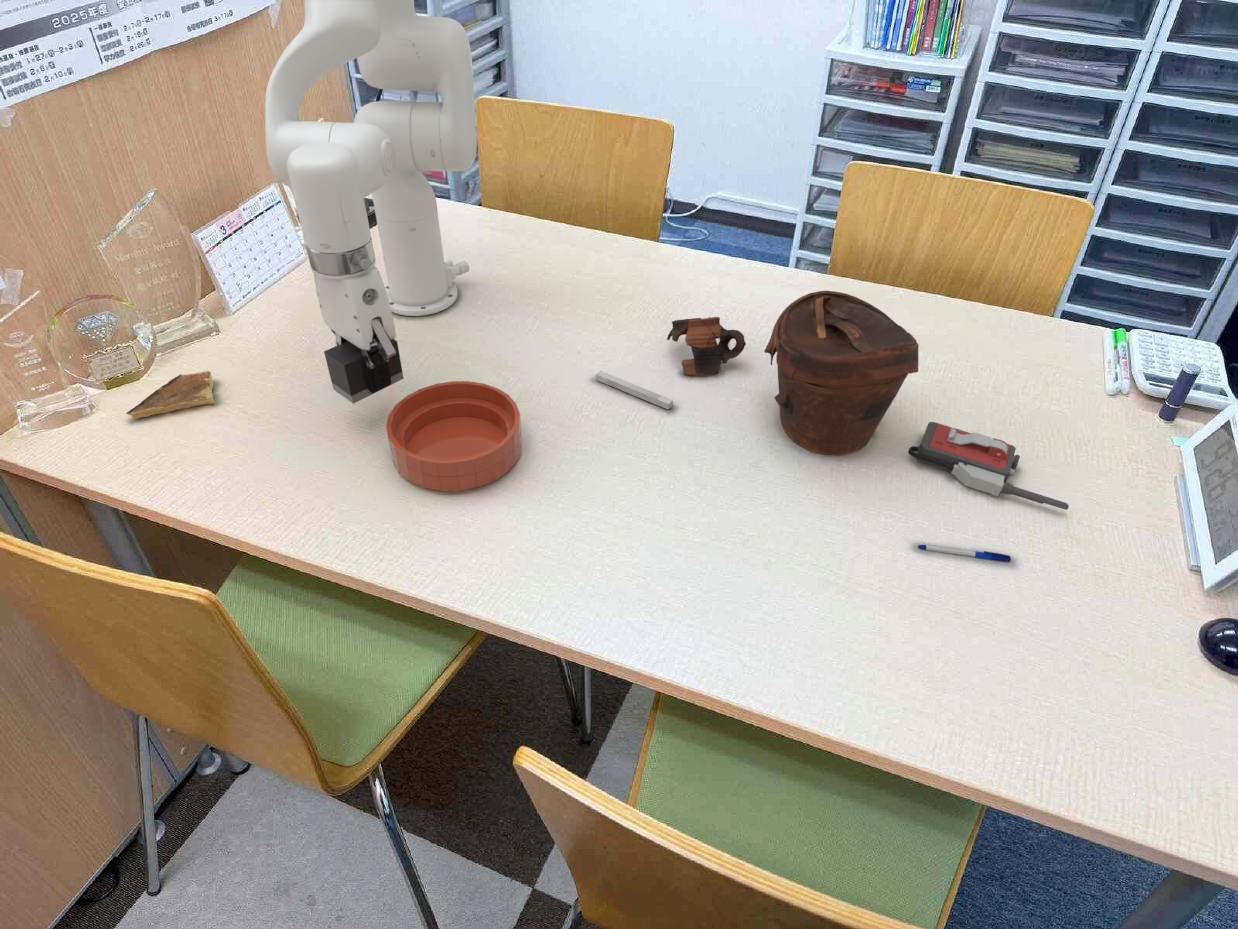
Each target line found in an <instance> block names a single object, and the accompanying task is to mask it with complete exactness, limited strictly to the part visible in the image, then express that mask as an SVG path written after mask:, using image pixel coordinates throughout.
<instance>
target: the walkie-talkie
mask: <svg viewBox="0 0 1238 929" xmlns="http://www.w3.org/2000/svg"><path fill="white" fill-rule="evenodd" d="M1016 449H1017V447H1015V445H1012V444H1010V443H1007V442H1006V441H1004V440H1002V439H999V438H996V437H993V438H992V437H991V436H988V435H986V434H982V433H979V432H968V431H965V430H962V429H959V428H956V427H952V426H949V425H945V424H942V423H938V422H936V421H928V423H927V425H926V428H925V431H924V434H923V436H922V439H921V441H920V444H919V446H915V445H912V446H910V447H909V448H908V450H907V453H908V455H909V456H910V457H912V458H915V459H916V460H917V462H919V463H920V464H922V465H926V466H930V467H933V468H936V469H939V470H942V471H946V472H949V473H951V474H952V475H953V476H954V477H955V478H956V479H957V480H958V481H959V482H961V483H962V484H963V485H964V486H966V487H968V488H971V489H975V490H978V491H981V492H984V493H987V494H990V495H991V496H995V497H999V495H1000V493H1002V494H1005V495H1008V496H1009V495H1013V496H1016V497H1019V498H1021V499H1024V500H1025V499H1026V500H1028V501H1032V502H1034V503H1037V504H1042V505H1043V504H1046V505H1049V506H1052V507H1055V508H1058V509H1059V508H1060V509H1061V510H1066V511H1067V510H1068V509H1069V506H1070V505H1069V504H1068V503H1067V502H1065V501H1061V500H1059V499H1056V498H1052V497H1048V496H1046V495H1042V494H1039V493H1036V492H1034V491H1033V492H1032V491H1030V490H1025V489H1024V488H1020V487H1016V486H1015V485H1014V484H1012V483H1011V482H1012V479H1010V478H1009V477H1010V476H1011V477H1013V476H1014V474H1015V472H1016V469H1017V466H1018V464H1019V462H1020V458H1021V456H1020V454H1015V453H1016Z"/></svg>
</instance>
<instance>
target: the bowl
mask: <svg viewBox="0 0 1238 929" xmlns="http://www.w3.org/2000/svg"><path fill="white" fill-rule="evenodd" d="M521 423H522V422H521V413H520V410H519V408H518V405H517V403H516V401H514V399H513V398H512V397H511V396H510V395H509V394H508V393H506V392H504V391H503V390H501V389H500V388H498V387H495V386H492V385H489V384H487V383H484V382H483V383H482V382H476V381H475V382H474V381H470V380H454V381H453V380H452V381H446V382H440V383H439V382H438V383H435V384H432V385H428V386H425V387H422V388H419V389H417V390H415V391H414V392H411V393H410V394H408V395H406V396H405V397H403V398H402V399H401V400H400V401H399V402H397V404H395V406H394V407H393V409H392V410H391V411H390V413H389V414H388V418H387V420H386V425H385V427H386V434H387V439H388V445H389V449H390V454H391V458H392V463H393V465H394V467H395V468H396V470H397V471H398V473H399V474H400V475H401V476H402V477H403V478H405V479H406V480H408V481H409V482H410V483H412V484H414V485H417V486H419V487H422V488H424V489H429V490H435V491H441V492H451V491H452V492H453V491H456V492H459V491H465V490H470V489H474V488H479V487H481V486H484V485H486V484H490V483H492V482H494V481H496V480H497V479H499V478H500V477H502V476H504V475H505V474H507V473H508V472H509V470H510V469H512V468H513V467H514V465H515V464H516V463H517V461H518V459H519V457H520V455H521V453H522V445H523V438H522V436H523V435H522V424H521Z"/></svg>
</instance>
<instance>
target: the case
mask: <svg viewBox="0 0 1238 929" xmlns="http://www.w3.org/2000/svg"><path fill="white" fill-rule="evenodd" d="M919 346H920V345H919V343H918V342H917V339H916V338H915V337H914V336H913V335H912V334H911V332H909V331H907V330H906V329H905V328H904V327H903V326H901V325H899V324H898V323H896V322H895V321H894V320H893V319H892V318H891V317H890V316H889V315H888V314H886V313H885V312H883V311H882V310H880V309H879V308H878V307H876V306H874V305H873V304H871V303H869V302H867V301H865V300H864V299H861V298H860V297H857V296H854V295H852V294H848V293H845V292H842V291H841V292H840V291H833V290H819V291H814V292H810V293H807V294H805V295H803V296H801V297H798V298H797V299H795V300H793V302H791V303H790V304H789V305H788V306H786V308H785V309H784V310H783V311H782V312H781V313H780V315H779V316H778V318H777V320H776V322H775V324H774V325H773V328H772V332H771V335H770V337H769V340H768V342H767V345H766V346H765V349H764V353H765V354H769V355H770V366H772V365H773V360H774V356H775V354H776V365H777V381H778V393H777V394H776V395H775V396H774V400H775V402H776V404H777V405H778V406H779V408H778V409H779V420H780V422H781V426H782V428H783V430H784V431H785V433H786V434H787V436H788V437H789V438H790V439H792V441H793V442H795V443H796V444H798V445H799V446H801V447H803V448H805V449H807V450H809V451H811V452H815V453H818V454H821V455H822V454H823V455H828V456H830V455H831V456H844V455H850V454H854V453H856V452H858V451H861V450H862V449H863V448H865V447H866V446H867V445H868V444H869V442H870V441H871V438H873V435H874V433H875V432H876V430H877V428H878V426H879V425H880V423H881V422H882V420H883V419H884V417H885V415H886V413H887V412H888V410H889V408H890V407H891V406H892V403H893V402H894V401H895V398H896V397H897V395H898V393H899V392H900V389H901V388H902V386H903V384H904V382H905V380H906V378H908V376H909V374H914V373H918V372H919Z"/></svg>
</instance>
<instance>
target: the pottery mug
mask: <svg viewBox="0 0 1238 929" xmlns="http://www.w3.org/2000/svg"><path fill="white" fill-rule="evenodd" d="M720 319H721V318H720V317H719V316H711V317H705V318H704V317H703V318H701V317H693V318H684V319H675V320H672V321H671V324H672V328H671V330H670V331H669V333H668V335H667V338H666V340H667V341H670V340H672V341H674V342H676V343H677V342H678V341H679V339H680V337H681V336H684V335H685V338H684V341H685V344H686V345H687V346H689V347H690V349H691V352H692V356H693V358H690V359H682V360H681V366H682V373H683V375H687V376H689V375H691V376H692V375H711V374H712V375H713V374H717V373H720V369H721V365H722V363H723V364H727V363H728V361H730V360H731V359H735V358H737V357H739V355H741V353H742V352H743V351H744V350H745V346H746V345H747V343H746V341H745V335H744V334H743V333H742V332H741V331H740V330H737V329H726V328H724V327H723V325H721V322H720V321H721V320H720ZM718 339H719V342H717V340H718ZM732 339H733V340H735V345H734V347H732V349H730V347H729V344H730V342H731V341H732Z"/></svg>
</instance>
